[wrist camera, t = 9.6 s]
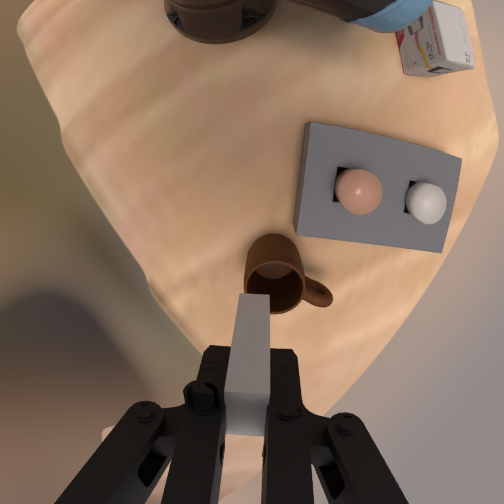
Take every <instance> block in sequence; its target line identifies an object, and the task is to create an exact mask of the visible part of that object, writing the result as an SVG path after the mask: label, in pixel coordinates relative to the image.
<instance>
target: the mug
mask: <svg viewBox="0 0 504 504" xmlns="http://www.w3.org/2000/svg"><path fill="white" fill-rule="evenodd" d="M244 293H245V294H262V295H270V314H282V313H285V312H288V311H290V310H292V309H293V308H295V307H296V306H297V305H298V304H299V303H300V302H301V300H302V299H303V300H305V301H306V302H308V303H310V304H312V305H314V306H317V307H328V306H330V305H331V303H332V301H333V296H332V294H331V292H330V291H329V289H328V288H326V287H325V286H324V285H323V284H321V283H319V282H317V281H315V280H313V279H310V278H308V277H307V276H305V274H304V270H303V266H302V262H301V259H300V255H299V252H298V250H297V248H296V246H295V245H294V244H293V243H292V242H291V241H290V240H289V239H287V238H285V237H283V236H280V235H268V236H264V237H262V238H260V239H258V240H257V241H256V242H255V243H254V244H253V245H252V246H251V248H250V250H249V253H248V256H247V262H246V267H245V274H244Z"/></svg>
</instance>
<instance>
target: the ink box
mask: <svg viewBox="0 0 504 504" xmlns="http://www.w3.org/2000/svg"><path fill="white" fill-rule="evenodd" d="M396 35H397V39H398V44H399V48H400V54H401V58H402V64H403V70H404V74H407V75H413V76H423V77H433V76H437V75H442V74H446V73H452V72H457V71H463V70H469V69H475V65H474V64H475V59H474V54H473V49H472V45H471V40H470V35H469V31H468V27H467V23H466V19H465V15H464V12H463V11H462V9H461V8H459V7H456V6H453V5H450V4H447V3H443V2H440V1H436V0H434V1H433V2H432V4H431V5H430V6H429V8H428V9H427V10H426V11H425V12H424V13H423V14H422V15H421V16H420V17H419V18H418V19H417V20H416V21H415V22H413V23H412V24H411V25H409V26H407V27H406V28H404V29H402V30H399V31H397V32H396Z"/></svg>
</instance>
